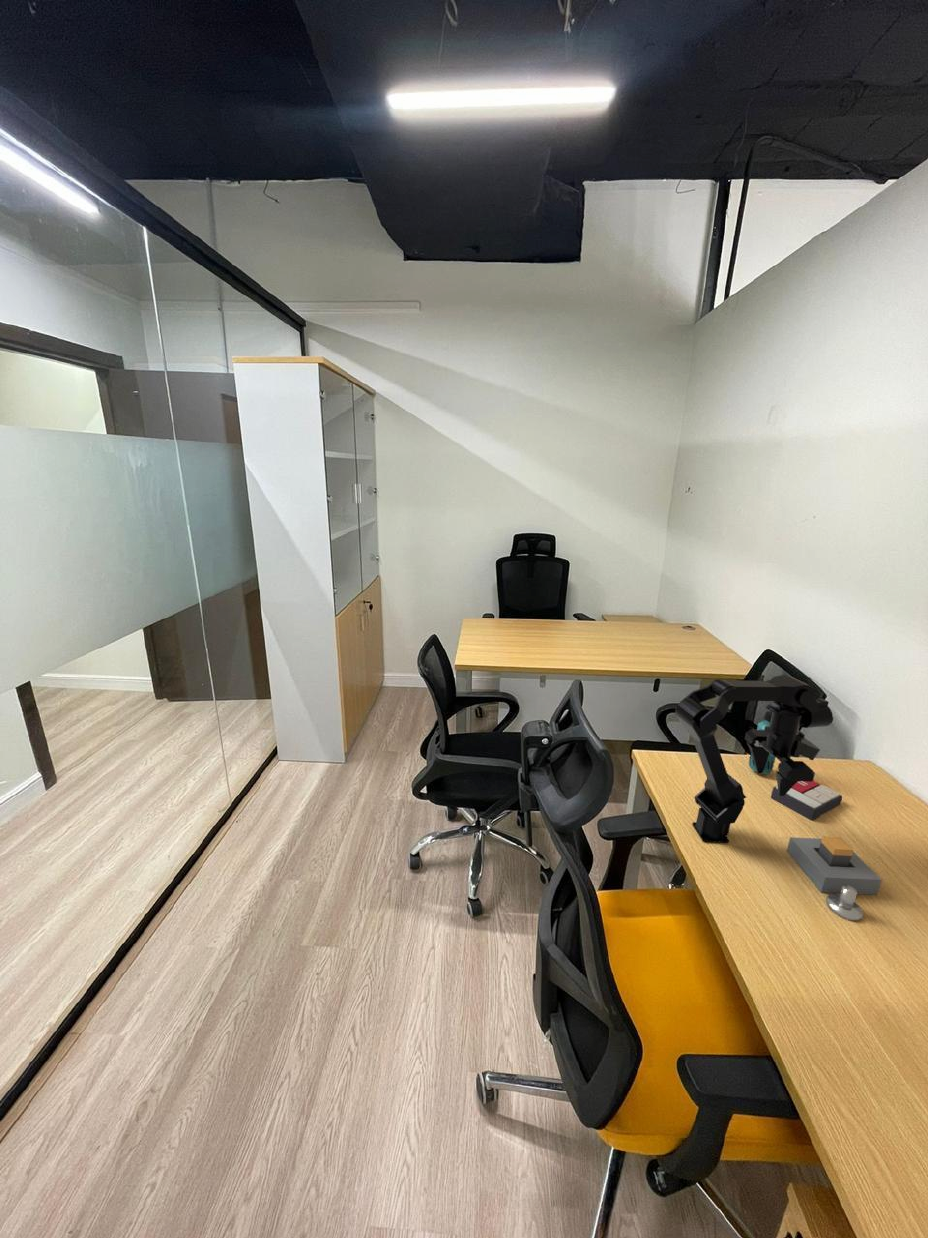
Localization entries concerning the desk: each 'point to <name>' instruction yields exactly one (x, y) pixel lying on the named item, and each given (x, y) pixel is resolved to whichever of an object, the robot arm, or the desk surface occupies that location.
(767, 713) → the beverage bottle
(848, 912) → the post
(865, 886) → the frame
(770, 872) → the desk surface
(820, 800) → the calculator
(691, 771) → the desk surface
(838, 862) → the block
